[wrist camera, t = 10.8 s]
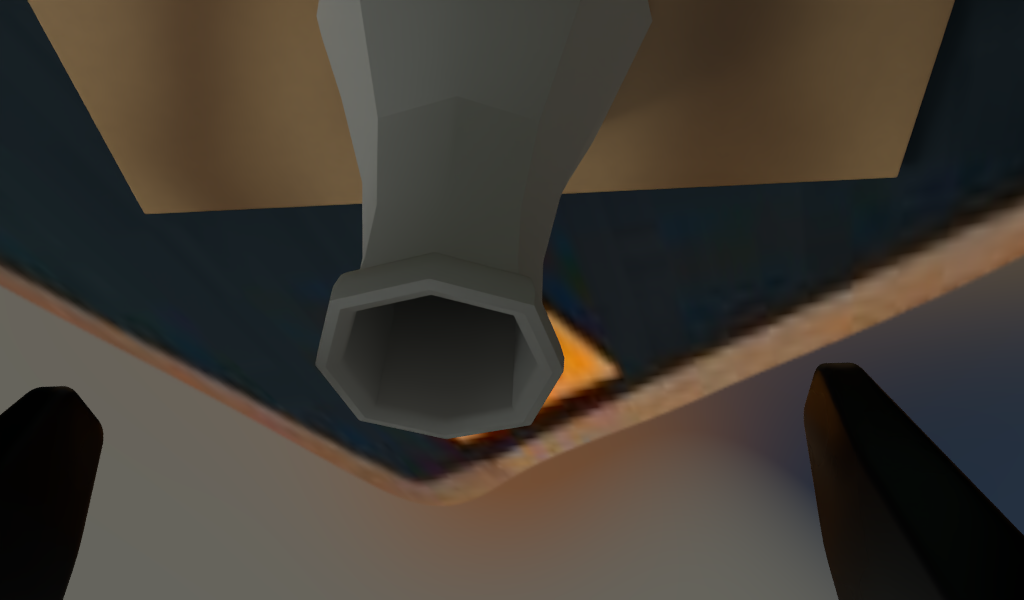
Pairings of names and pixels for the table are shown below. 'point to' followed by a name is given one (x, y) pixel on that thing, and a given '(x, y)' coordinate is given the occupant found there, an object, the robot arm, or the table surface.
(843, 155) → the cork mat
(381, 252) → the flask
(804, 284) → the table surface
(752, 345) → the table surface
